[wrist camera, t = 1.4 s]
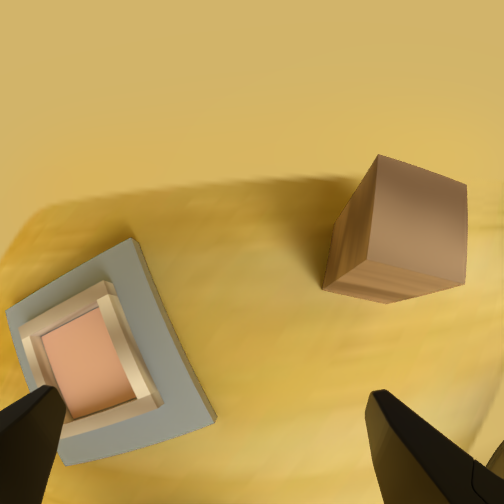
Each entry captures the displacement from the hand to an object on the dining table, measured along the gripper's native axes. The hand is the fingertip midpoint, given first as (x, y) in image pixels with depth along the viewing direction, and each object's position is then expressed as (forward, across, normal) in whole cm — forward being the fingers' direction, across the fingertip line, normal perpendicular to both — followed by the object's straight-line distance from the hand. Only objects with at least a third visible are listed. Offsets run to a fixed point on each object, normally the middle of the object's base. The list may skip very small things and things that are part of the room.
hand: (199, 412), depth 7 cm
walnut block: (+15, -9, +2) cm, 18 cm away
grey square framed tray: (+11, +11, +8) cm, 18 cm away
